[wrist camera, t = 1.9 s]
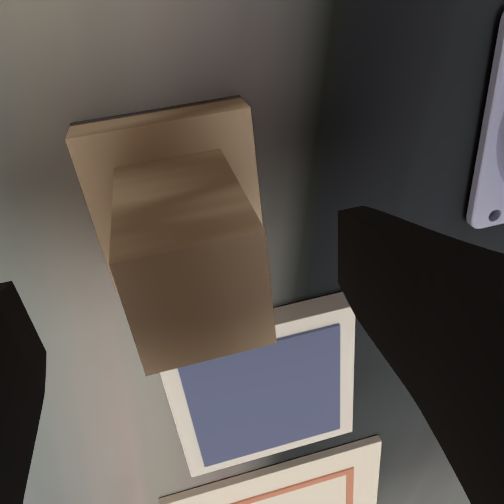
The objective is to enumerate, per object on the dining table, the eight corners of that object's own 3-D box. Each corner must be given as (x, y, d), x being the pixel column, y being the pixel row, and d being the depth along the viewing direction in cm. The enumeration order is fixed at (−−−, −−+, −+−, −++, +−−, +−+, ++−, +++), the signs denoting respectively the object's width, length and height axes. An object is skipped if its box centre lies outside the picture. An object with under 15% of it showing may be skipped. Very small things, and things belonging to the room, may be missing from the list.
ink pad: (345, 291, 19) (357, 308, 18) (343, 415, 23) (353, 433, 22) (153, 336, 18) (154, 357, 17) (189, 458, 22) (192, 480, 21)
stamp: (238, 94, 14) (313, 173, 8) (254, 234, 17) (319, 363, 11) (71, 122, 13) (32, 228, 8) (116, 264, 16) (112, 417, 10)
